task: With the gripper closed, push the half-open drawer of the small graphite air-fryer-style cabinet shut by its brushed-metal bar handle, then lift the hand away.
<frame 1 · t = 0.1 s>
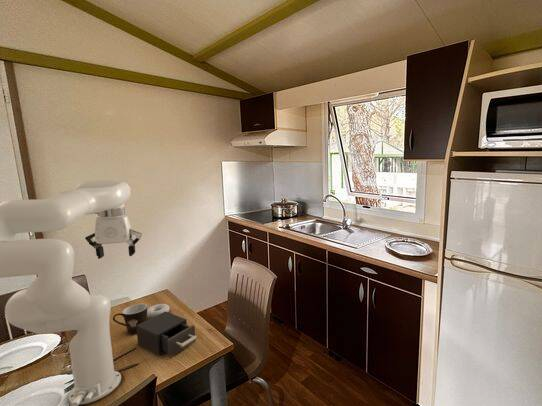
hand: (116, 256, 105), 37 cm above the table, tool pointing down, fingers open, 9 cm apart
fryer: (163, 341, 112), on the table
donut: (157, 314, 131), on the table
fryer drawer: (175, 337, 108), point 4 cm above the table, slide at 4.5 cm
coffee mug: (134, 330, 119), on the table
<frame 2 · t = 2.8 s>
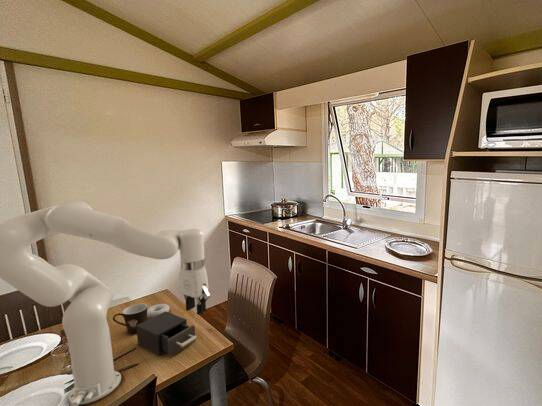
hand: (196, 310, 100), 19 cm above the table, tool pointing down, fingers open, 5 cm apart
nothing on the table moved.
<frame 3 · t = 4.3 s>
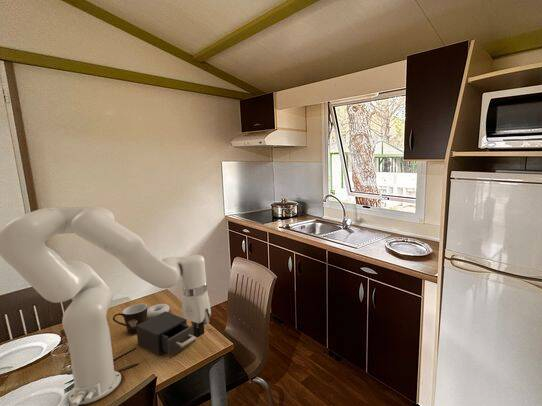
hand: (199, 334, 102), 9 cm above the table, tool pointing down, fingers closed
nothing on the table moved.
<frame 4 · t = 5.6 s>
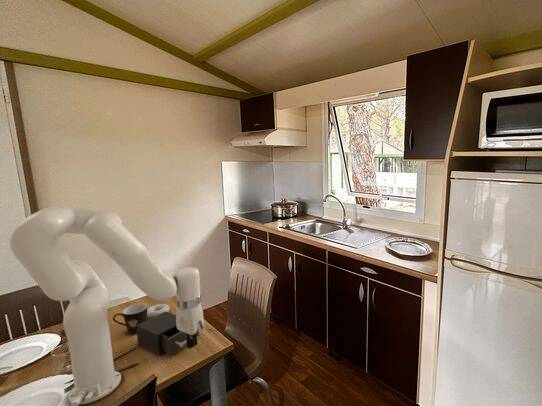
hand: (192, 345, 104), 4 cm above the table, tool pointing down, fingers closed
fryer drawer: (175, 337, 108), point 4 cm above the table, slide at 4.0 cm, touching gripper
everything else where it was.
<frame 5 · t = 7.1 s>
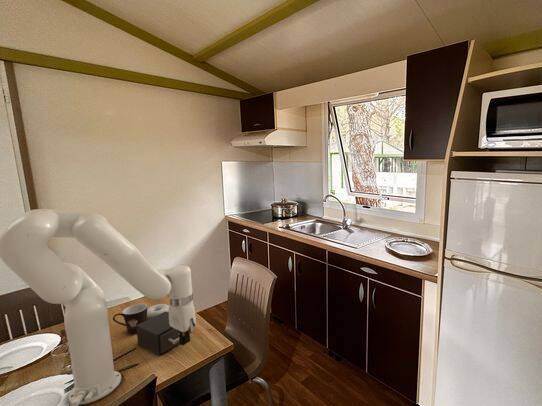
hand: (185, 342, 105), 4 cm above the table, tool pointing down, fingers closed
fryer drawer: (168, 334, 110), point 4 cm above the table, slide at 0.0 cm, touching fryer, gripper
everything else where it was.
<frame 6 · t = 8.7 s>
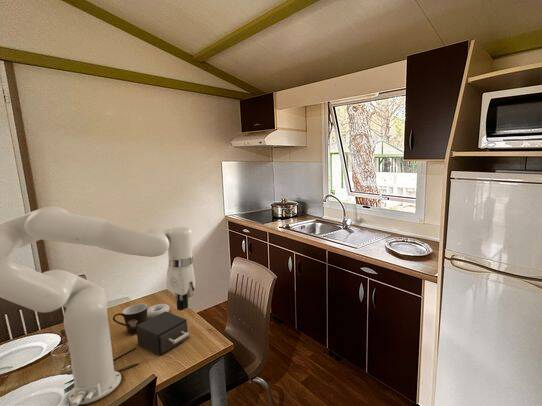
hand: (182, 308, 101), 19 cm above the table, tool pointing down, fingers closed
fryer drawer: (168, 334, 110), point 4 cm above the table, slide at 0.0 cm, touching fryer
everything else where it was.
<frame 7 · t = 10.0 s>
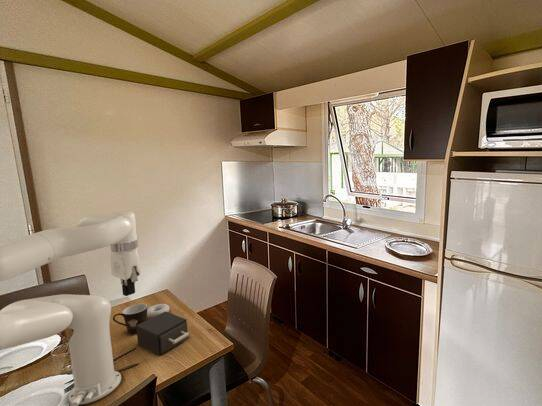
hand: (129, 294, 100), 25 cm above the table, tool pointing down, fingers closed
nothing on the table moved.
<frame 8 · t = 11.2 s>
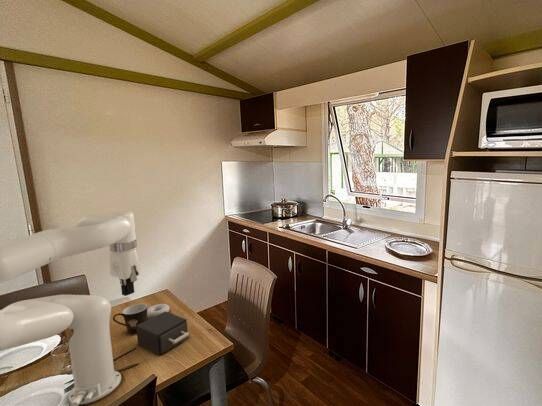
hand: (128, 293, 100), 25 cm above the table, tool pointing down, fingers closed
nothing on the table moved.
at the end: fryer drawer slide at 0.0 cm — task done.
